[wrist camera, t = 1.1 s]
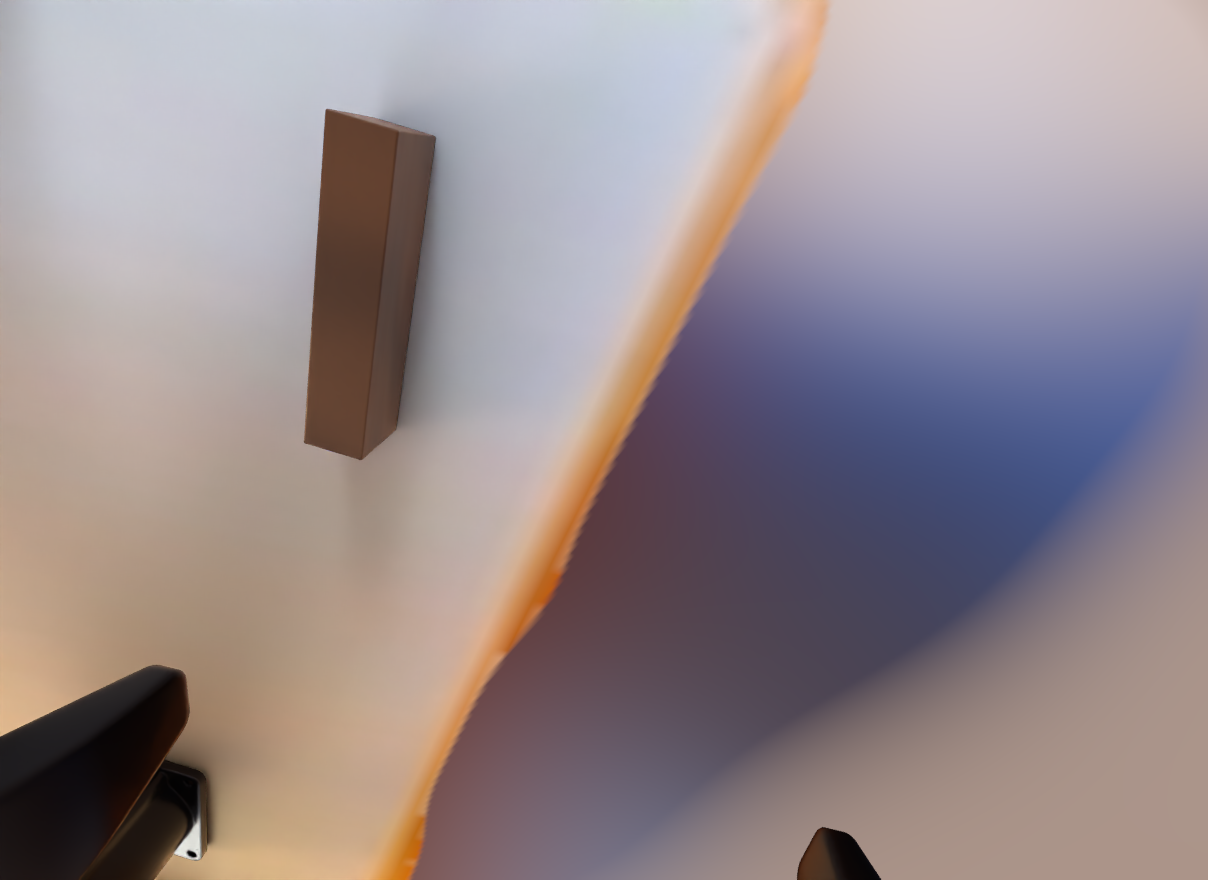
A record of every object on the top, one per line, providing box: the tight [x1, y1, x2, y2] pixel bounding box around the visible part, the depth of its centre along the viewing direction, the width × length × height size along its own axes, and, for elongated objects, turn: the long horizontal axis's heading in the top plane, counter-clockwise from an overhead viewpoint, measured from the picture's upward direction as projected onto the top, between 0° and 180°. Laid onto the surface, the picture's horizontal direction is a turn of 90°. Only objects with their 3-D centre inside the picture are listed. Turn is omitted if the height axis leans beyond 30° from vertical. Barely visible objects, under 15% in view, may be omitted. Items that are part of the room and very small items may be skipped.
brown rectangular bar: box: [304, 109, 436, 460], centre depth 17 cm, size 9×2×2 cm, turn 165°
